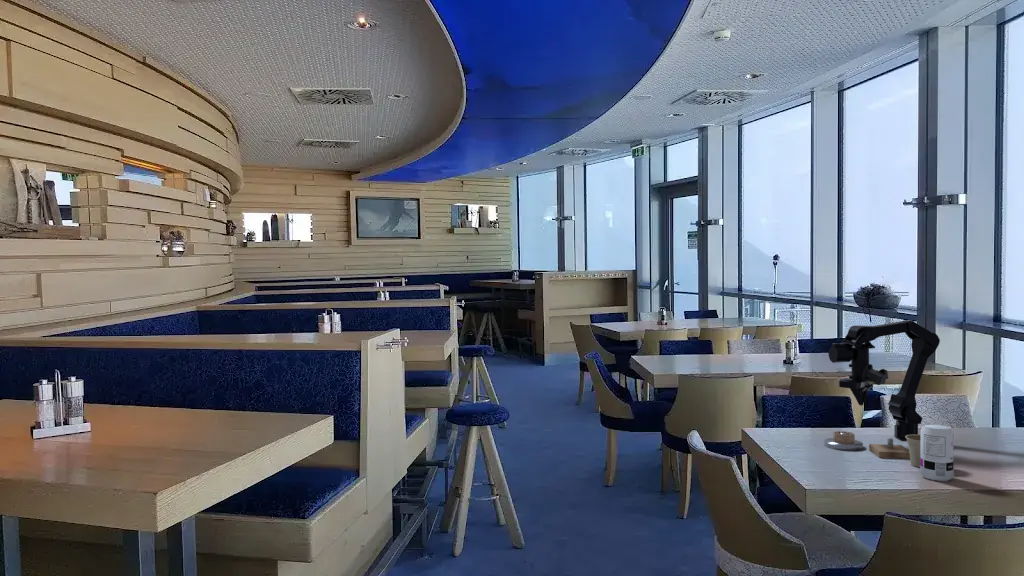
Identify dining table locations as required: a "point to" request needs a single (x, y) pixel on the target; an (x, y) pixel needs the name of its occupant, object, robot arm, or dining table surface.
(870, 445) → the stand
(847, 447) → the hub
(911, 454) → the flower pot
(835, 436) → the octagonal wooden ring
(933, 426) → the supplement can
